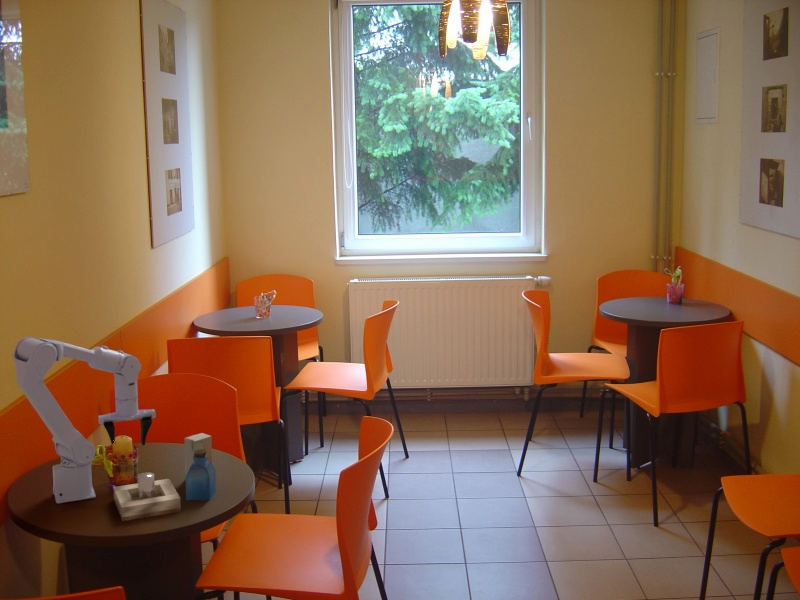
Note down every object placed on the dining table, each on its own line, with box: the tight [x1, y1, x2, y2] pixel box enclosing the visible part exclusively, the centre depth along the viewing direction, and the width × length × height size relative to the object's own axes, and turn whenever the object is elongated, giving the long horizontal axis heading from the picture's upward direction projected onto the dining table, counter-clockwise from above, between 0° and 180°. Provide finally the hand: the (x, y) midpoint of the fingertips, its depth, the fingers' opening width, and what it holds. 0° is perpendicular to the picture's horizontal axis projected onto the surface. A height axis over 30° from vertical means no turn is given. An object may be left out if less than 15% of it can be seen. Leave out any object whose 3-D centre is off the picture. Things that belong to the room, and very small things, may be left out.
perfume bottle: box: [185, 449, 217, 501], centre depth 222 cm, size 6×6×12 cm
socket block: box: [112, 478, 182, 522], centre depth 215 cm, size 14×14×4 cm
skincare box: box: [184, 432, 213, 481], centre depth 232 cm, size 6×4×12 cm
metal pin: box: [137, 472, 156, 500], centre depth 215 cm, size 4×4×7 cm
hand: (128, 445), depth 231 cm, fingers open, 7 cm apart
